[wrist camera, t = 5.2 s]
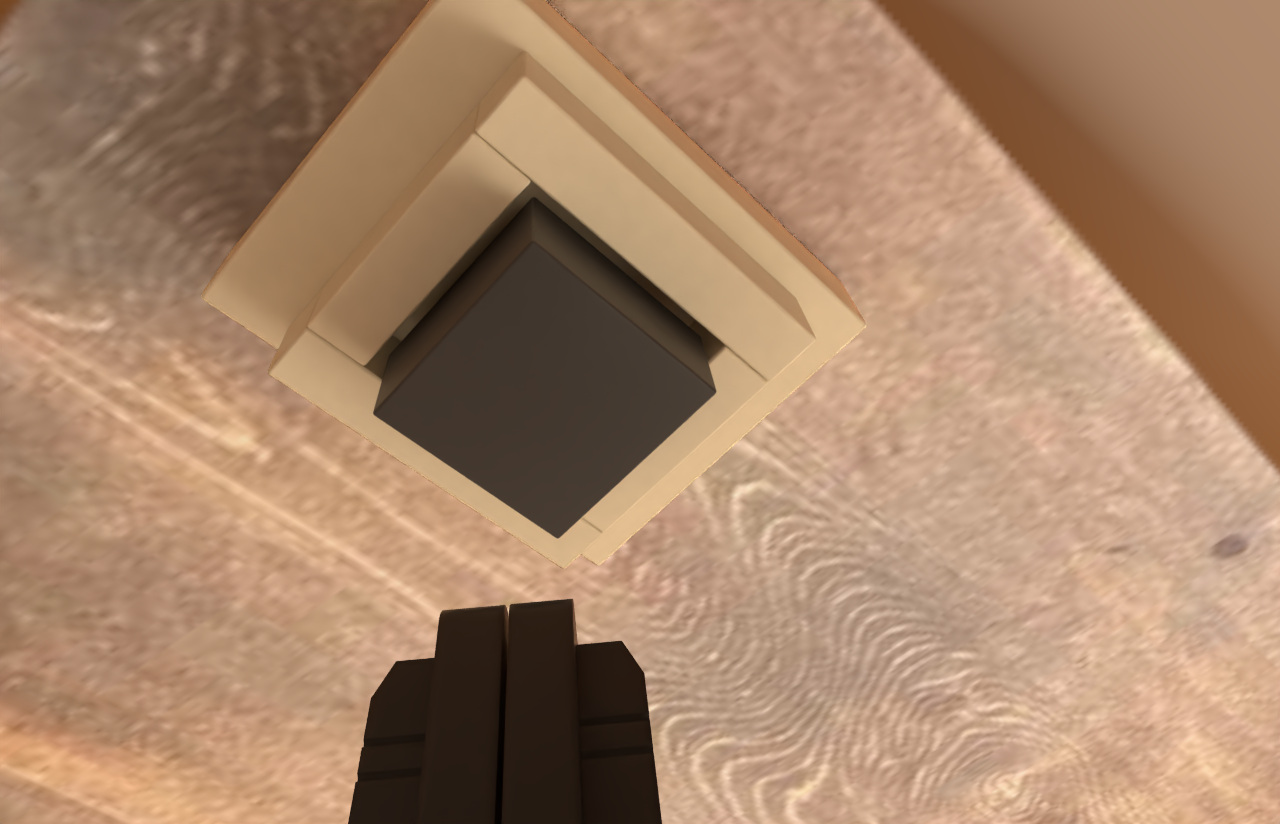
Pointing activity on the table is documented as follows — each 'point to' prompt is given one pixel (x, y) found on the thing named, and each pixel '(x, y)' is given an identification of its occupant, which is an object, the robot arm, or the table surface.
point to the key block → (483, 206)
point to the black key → (544, 373)
